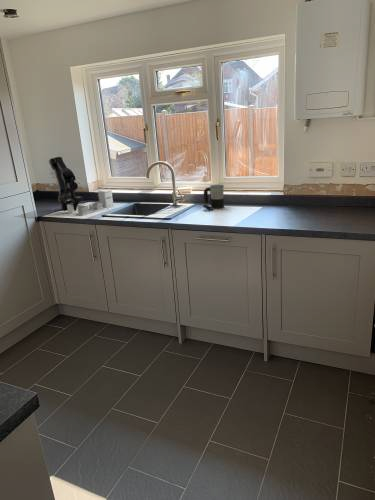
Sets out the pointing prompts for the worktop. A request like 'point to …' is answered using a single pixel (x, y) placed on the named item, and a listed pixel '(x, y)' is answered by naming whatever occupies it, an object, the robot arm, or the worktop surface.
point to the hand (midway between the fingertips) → (72, 210)
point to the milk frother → (214, 197)
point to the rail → (84, 209)
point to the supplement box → (106, 198)
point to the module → (71, 208)
